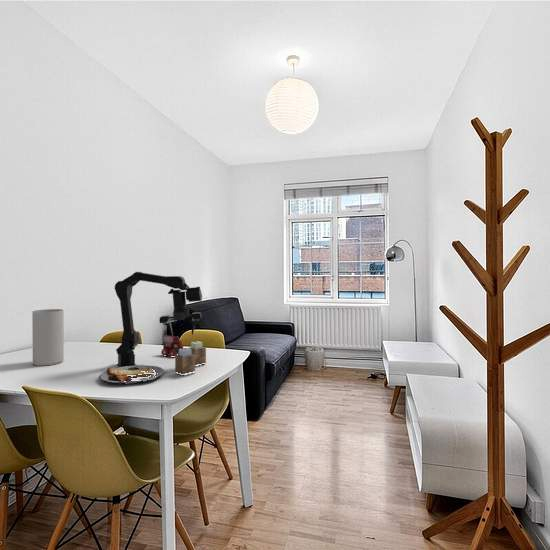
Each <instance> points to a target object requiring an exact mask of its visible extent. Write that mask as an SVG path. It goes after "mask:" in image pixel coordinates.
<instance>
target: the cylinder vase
mask: <svg viewBox="0 0 550 550" xmlns="http://www.w3.org/2000/svg"><path fill="white" fill-rule="evenodd" d="M31 314H32V316H31V318H32V319H31V320H32V325H31V326H32V327H31V328H32V331H31V333H32V334H31V335H32V364H33V365H34V366H37V367H38V366H39V367H45V366H46V365H48V366H53V365H57V364H61V363H62V362H64V357H65V356H64V355H65V353H64V348H65V347H64V344H65V343H64V334H65V333H64V309H62V308H53V309H51V308H48V309H46V308H45V309H36V310H33V311H31ZM46 367H47V366H46Z"/></svg>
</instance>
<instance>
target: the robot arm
mask: <svg viewBox="0 0 550 550" xmlns="http://www.w3.org/2000/svg"><path fill="white" fill-rule="evenodd" d="M141 281H142V282H147V283H154V284H161V285H165V286H167V287H169V288H171V289H170V290H169V291H168V292H167V294H168V295H172V303H173V310H172V311H173V312H172V316H170V315H169V314H167V315H161V316H160V317H159V324H162V325H165V326H166V328H167V330H168V331H169V334H170V336H172V337H173V336H174V332H173V327H172V321H176V322H177V321H184V320H188V319H189V320H190V319H192V320H191V335H192V336H193V335H194V332H195V327H196V325H197V322H199V321H200V320H202V313H201V312H192V314H190V309H189V308H187V301H188V302H189V303H193V302H201V301H202V300H203V294H202V293H203V292H202V290H201V287H200V286H195V287H190V286H189V285H188V284H187V282H186V279H185V278H184V277H183V276H180V275H173V276H172V275H169V276H168V275H167V276H165V275H160V274H153V273H147V272H142V271H135V272H133V273H132V274H131V275H130V276H128V277H126V278H124V279H122V280H119V281H117V282H116V283H115V284H114V291H115V294H116V296H117V298H118V300H119V302H120V304H119V305H120V312H121V321H122V329H123V332H122V335H121V344H120V345H119V346H118V347H117V348H116V349H115V350H116V351H115V352H116V354H117V363H116V366H118V367H126V366H128V367H129V366H131V365H132V366H133V365H135V364H136V363H135V362H136V355H135V349H136V347H137V346H138V344H139V343H140V340H141V338H140V332H139V331H136V330H135V326H134V318H133V311H132V310H133V309H132V303H131V298H132V295H133V287H135V286H136V285H137V284H138V283H139V282H141Z"/></svg>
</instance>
